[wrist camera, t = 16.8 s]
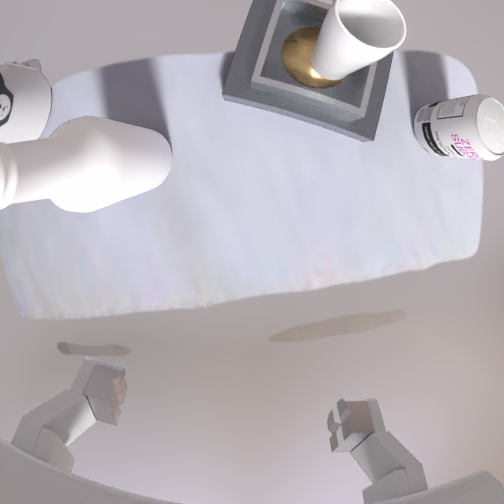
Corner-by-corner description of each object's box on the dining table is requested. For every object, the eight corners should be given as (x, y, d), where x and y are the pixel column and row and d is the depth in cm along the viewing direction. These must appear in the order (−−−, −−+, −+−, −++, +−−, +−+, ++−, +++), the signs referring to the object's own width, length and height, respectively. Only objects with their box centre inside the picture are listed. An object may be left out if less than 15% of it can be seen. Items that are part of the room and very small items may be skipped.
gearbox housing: (224, 100, 37) (219, 87, 30) (256, 1, 33) (258, -24, 25) (362, 141, 39) (384, 139, 32) (385, 43, 34) (407, 28, 27)
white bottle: (131, 120, 38) (-34, 88, 9) (184, 143, 39) (52, 121, 11) (108, 176, 40) (-60, 220, 12) (158, 200, 41) (15, 282, 13)
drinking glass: (292, 54, 32) (316, 0, 17) (333, 32, 31) (374, -21, 16) (324, 95, 33) (368, 63, 19) (364, 72, 32) (421, 37, 18)
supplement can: (451, 110, 37) (514, 103, 23) (451, 159, 40) (514, 167, 25) (411, 99, 37) (471, 84, 23) (411, 151, 39) (473, 154, 25)
